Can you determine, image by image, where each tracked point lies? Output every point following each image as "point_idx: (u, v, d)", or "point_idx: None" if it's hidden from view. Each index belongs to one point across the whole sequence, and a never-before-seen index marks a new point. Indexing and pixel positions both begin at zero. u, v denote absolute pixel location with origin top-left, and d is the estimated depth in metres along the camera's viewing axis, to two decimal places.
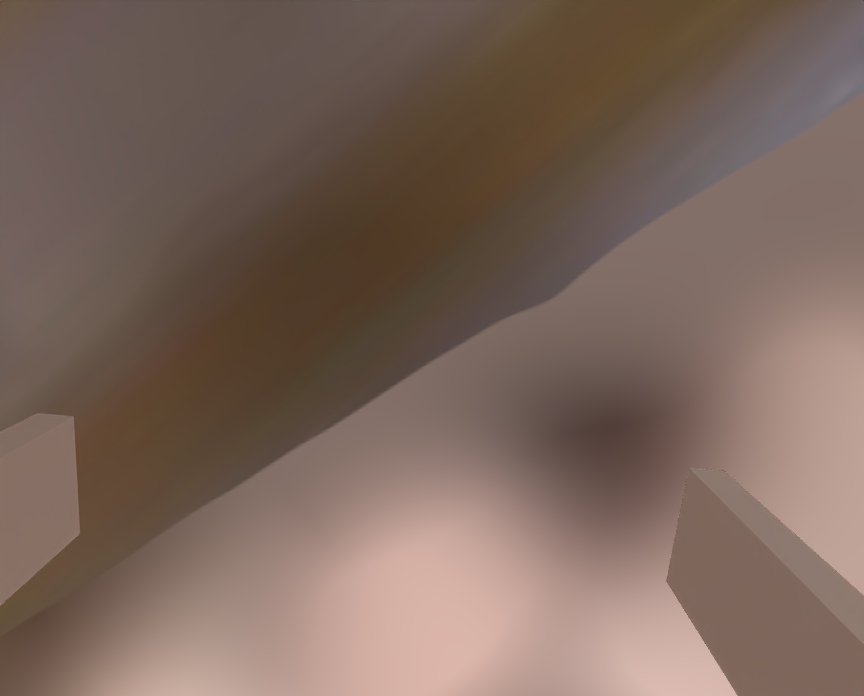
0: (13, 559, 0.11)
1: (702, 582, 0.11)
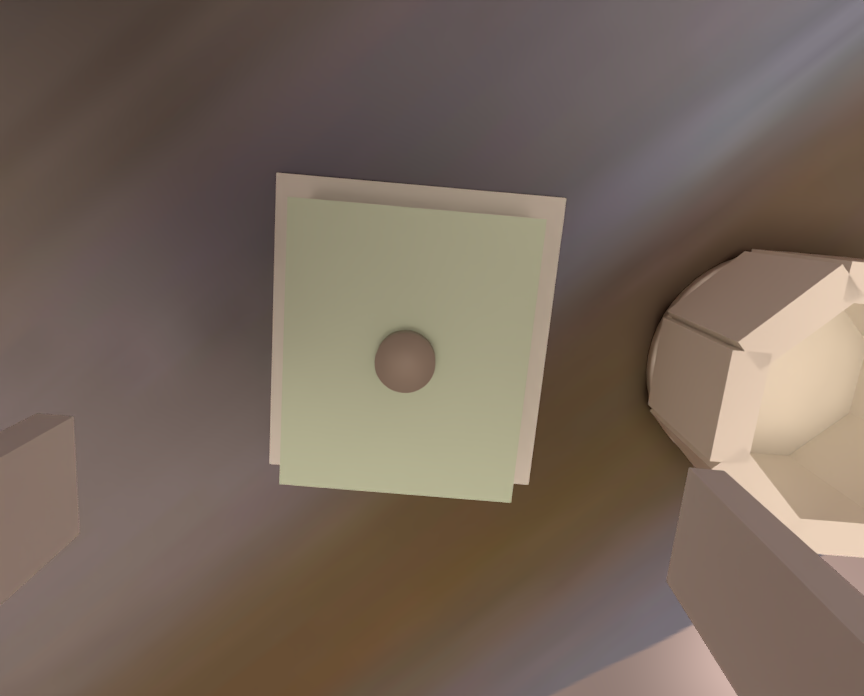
0: (14, 558, 0.11)
1: (701, 581, 0.11)
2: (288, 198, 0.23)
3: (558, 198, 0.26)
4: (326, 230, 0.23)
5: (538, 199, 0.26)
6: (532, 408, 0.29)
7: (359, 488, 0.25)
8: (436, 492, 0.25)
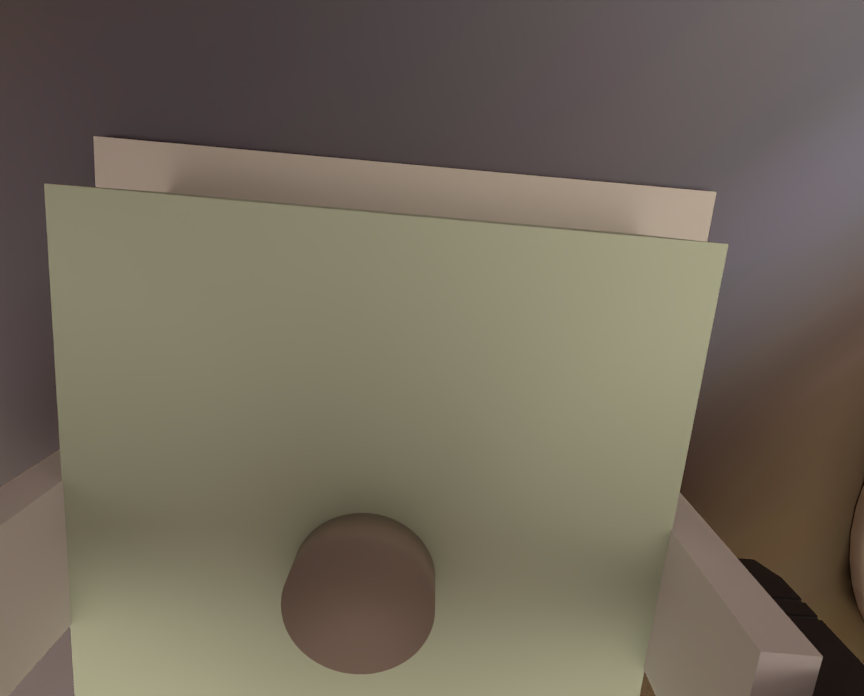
0: None
1: None
2: (46, 188, 0.09)
3: (699, 192, 0.12)
4: (152, 271, 0.09)
5: (656, 194, 0.12)
6: None
7: None
8: None
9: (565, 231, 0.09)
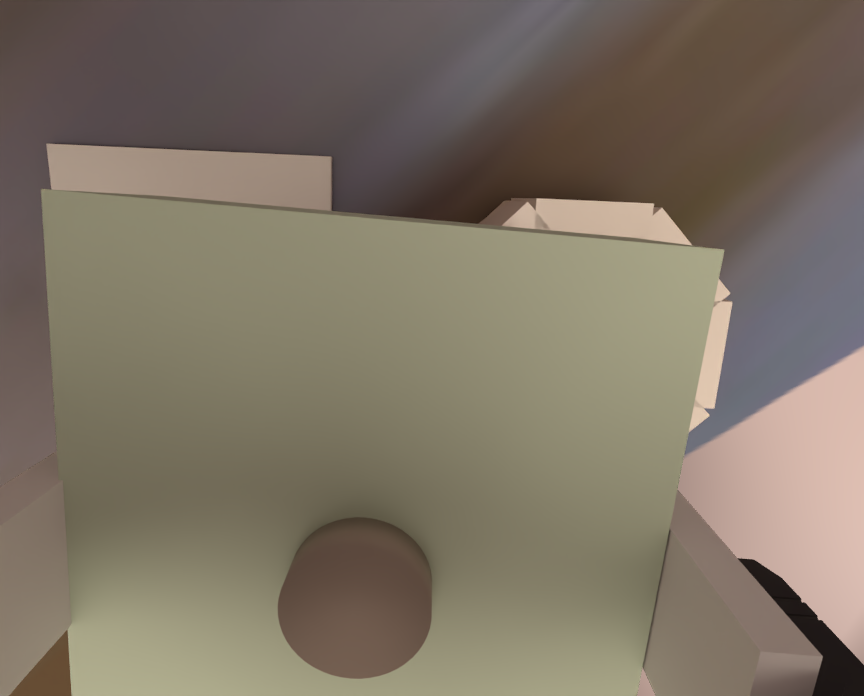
0: None
1: None
2: (43, 193, 0.09)
3: (322, 157, 0.27)
4: (148, 276, 0.09)
5: (304, 159, 0.27)
6: None
7: None
8: None
9: (561, 236, 0.09)
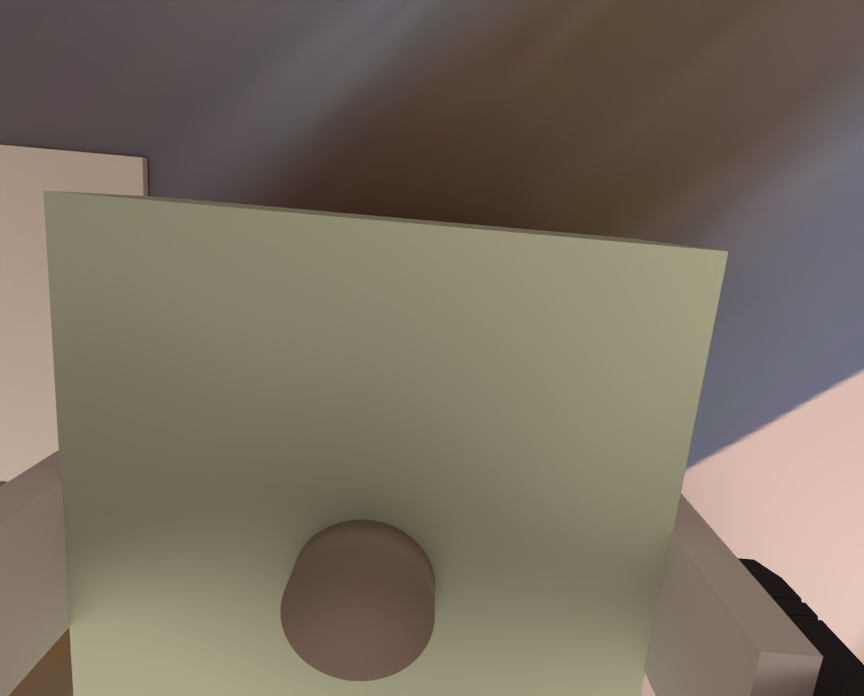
0: None
1: None
2: (45, 195, 0.09)
3: (132, 157, 0.22)
4: (152, 278, 0.09)
5: (109, 158, 0.23)
6: None
7: None
8: None
9: (565, 238, 0.09)
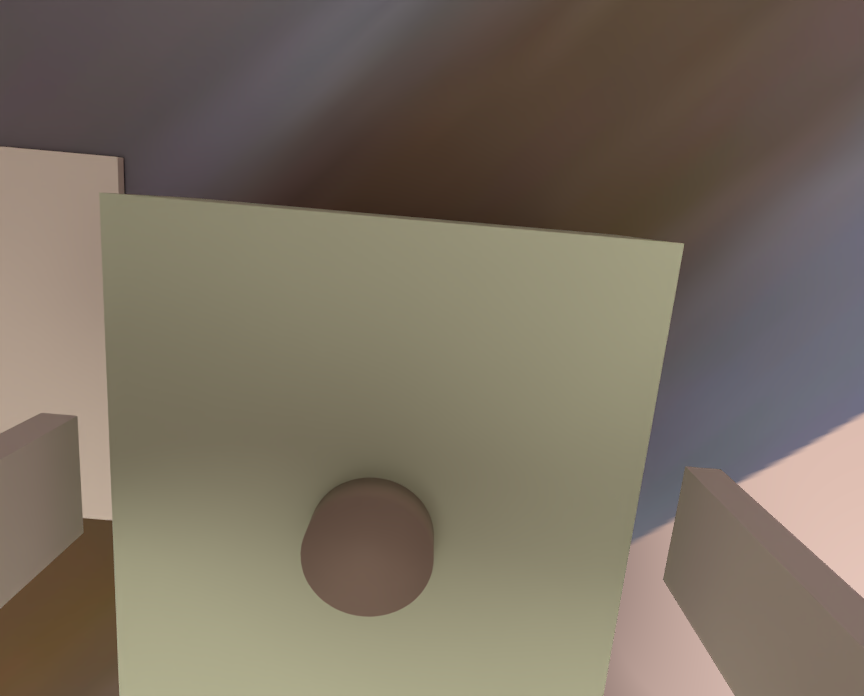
0: (18, 557, 0.11)
1: (698, 580, 0.11)
2: (101, 196, 0.10)
3: (106, 157, 0.20)
4: (190, 266, 0.10)
5: (81, 158, 0.21)
6: None
7: None
8: None
9: (544, 232, 0.10)
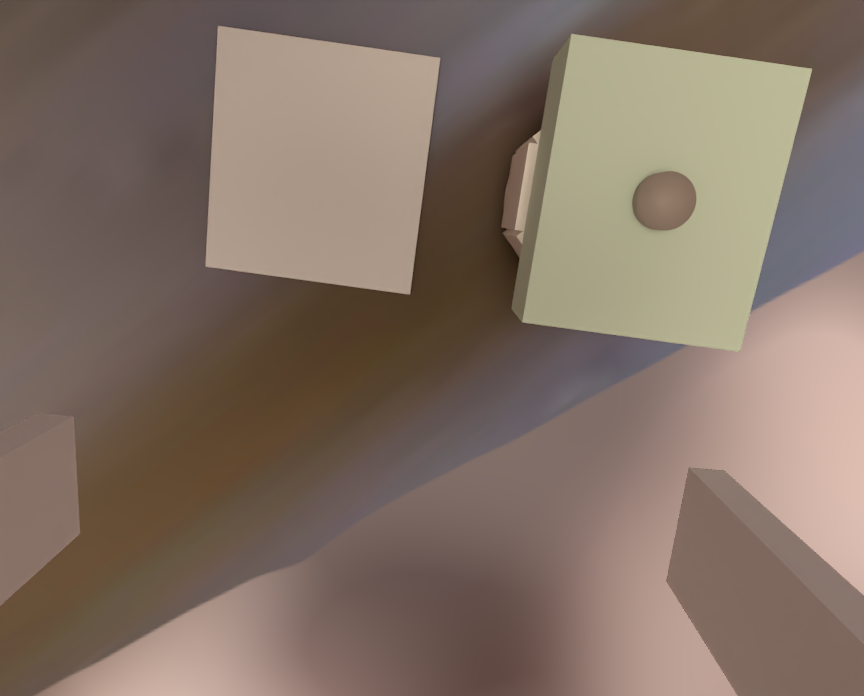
0: (13, 559, 0.11)
1: (702, 581, 0.11)
2: (572, 35, 0.24)
3: (434, 57, 0.34)
4: (603, 69, 0.24)
5: (418, 57, 0.34)
6: (413, 230, 0.37)
7: (597, 330, 0.27)
8: (670, 337, 0.27)
9: None
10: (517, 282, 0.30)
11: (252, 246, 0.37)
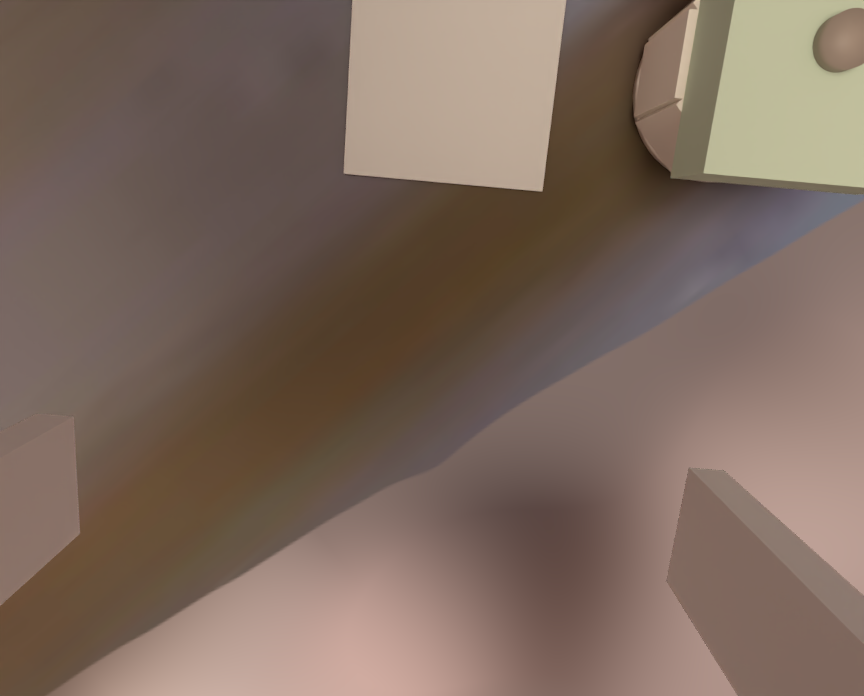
0: (14, 559, 0.11)
1: (702, 581, 0.11)
2: None
3: None
4: None
5: None
6: (545, 126, 0.38)
7: (776, 178, 0.28)
8: (846, 181, 0.28)
9: None
10: (679, 148, 0.31)
11: (389, 151, 0.38)
